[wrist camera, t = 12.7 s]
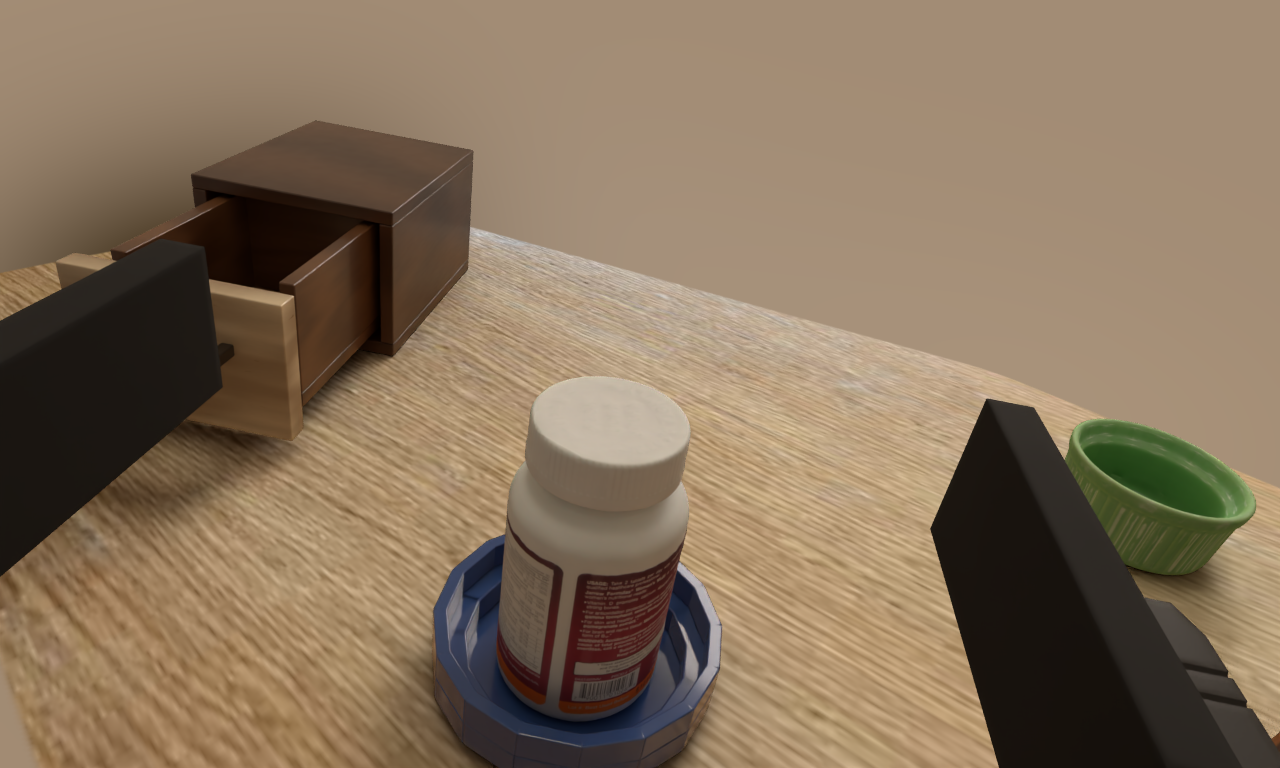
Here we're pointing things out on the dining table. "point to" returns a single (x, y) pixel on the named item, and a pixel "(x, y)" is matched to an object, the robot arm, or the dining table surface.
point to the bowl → (549, 747)
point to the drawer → (271, 302)
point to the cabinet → (369, 206)
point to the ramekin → (1157, 494)
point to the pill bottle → (592, 546)
